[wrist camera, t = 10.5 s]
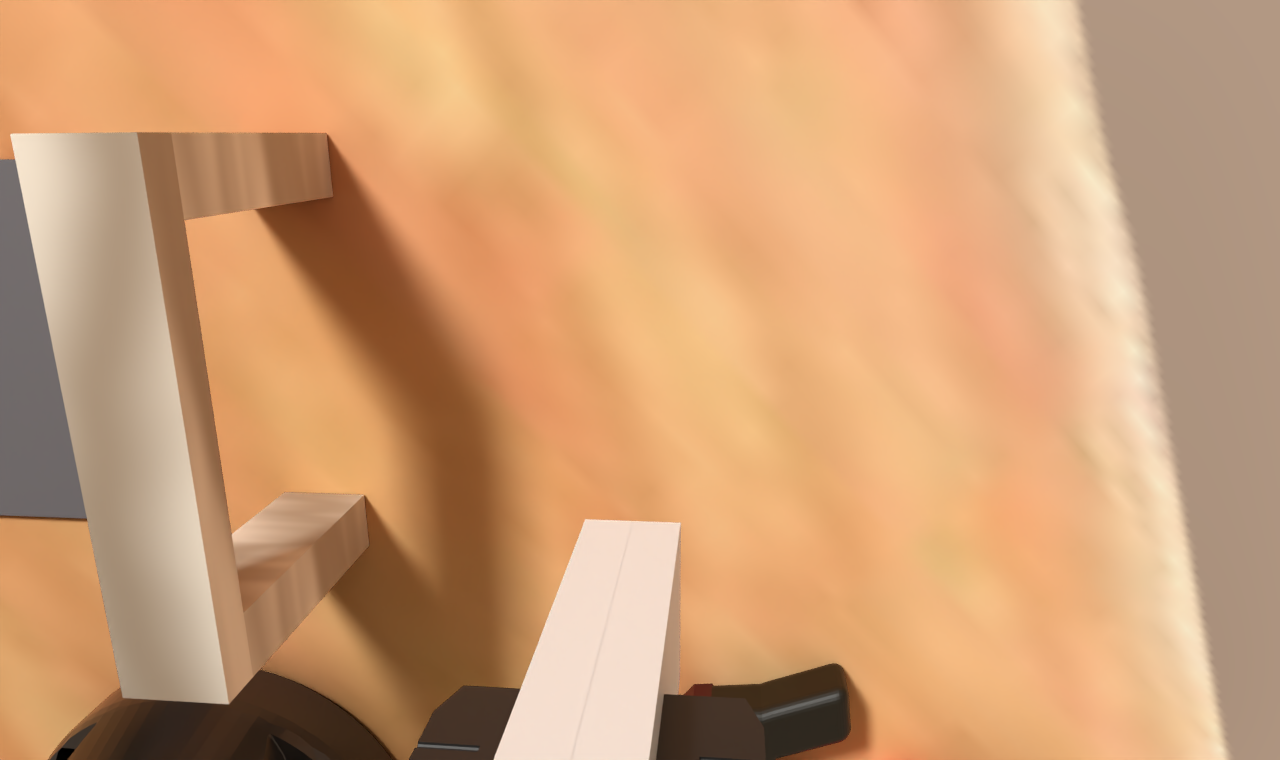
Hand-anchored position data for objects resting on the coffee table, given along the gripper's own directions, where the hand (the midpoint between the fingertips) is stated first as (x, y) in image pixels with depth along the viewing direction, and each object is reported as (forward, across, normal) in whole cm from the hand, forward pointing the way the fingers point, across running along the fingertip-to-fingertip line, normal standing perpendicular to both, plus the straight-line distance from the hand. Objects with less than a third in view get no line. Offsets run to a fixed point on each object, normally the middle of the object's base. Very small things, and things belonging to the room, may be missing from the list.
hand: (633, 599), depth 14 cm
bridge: (+15, +13, 0) cm, 20 cm away
